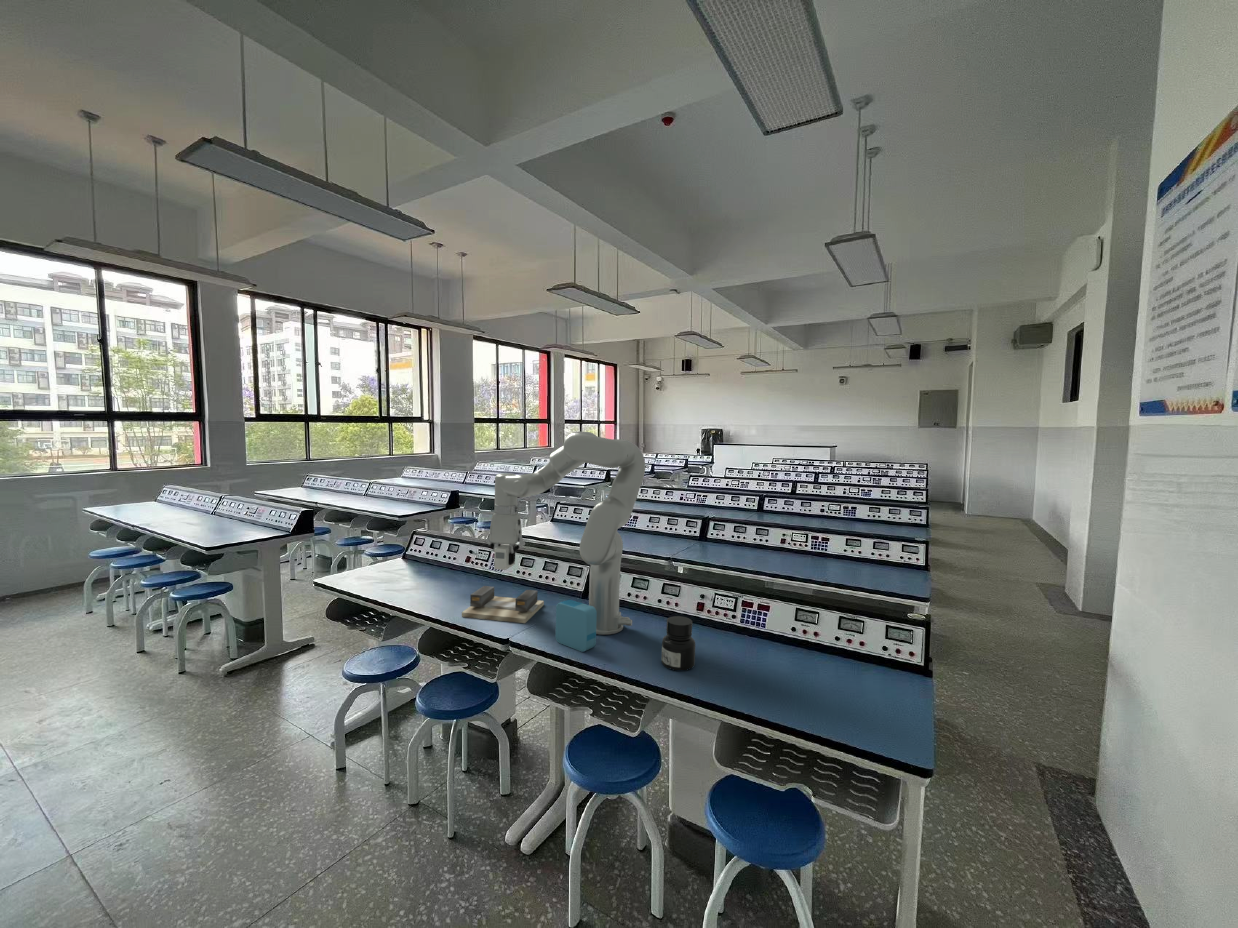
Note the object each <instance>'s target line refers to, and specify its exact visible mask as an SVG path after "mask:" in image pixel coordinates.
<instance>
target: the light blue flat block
mask: <svg viewBox="0 0 1238 928" xmlns="http://www.w3.org/2000/svg"><path fill="white" fill-rule="evenodd" d="M596 620H597V611H596V609H595V608H594V607H593V606H590V605H589V604H586V603H582V602H579V601H576V600H573V599H570V598H569V599H566V600H563V601H560V602H558V603H557V604H556V606H555V640H556V642H557V643H558V644H560V645H563V646H566V647H568V648H570V649H574V650H576V651H579V652H582V653H584V652H586V651H589V650H590V649H592V648H595V646H596V644H597V634H596Z"/></svg>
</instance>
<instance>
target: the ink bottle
mask: <svg viewBox="0 0 1238 928" xmlns="http://www.w3.org/2000/svg"><path fill="white" fill-rule="evenodd" d="M665 630H666V635H664V636H663V638H662V640H661V664H662V665H663V666H664V668H667V669H668V668H671V669H674V670H673V671H675V670H685V671H688V670H687V669H689V668H692V667H693V666H694V667H695V665H696V640H695V639H694V638H693V637H692V634H693V621H692V619H690V618H689V617H686V616H681V615H674V616H670V617H667V619H666V629H665ZM694 667H693V668H694ZM693 668H692V669H693ZM671 669H670V670H671ZM689 670H690V669H689Z"/></svg>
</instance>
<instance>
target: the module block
mask: <svg viewBox="0 0 1238 928" xmlns="http://www.w3.org/2000/svg"><path fill="white" fill-rule="evenodd" d="M509 553H510V547H509V544H501V545H500V546H498V547H497V548H495V552H494V558H493V559H494V563H493V565H494V566H493V567H494V568H493V569H494V570H501V571H507V570H508V569H509V568H511V567H513V566H514V565H516V561H515V562H514V563H513V564H512V565H509Z"/></svg>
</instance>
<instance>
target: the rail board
mask: <svg viewBox="0 0 1238 928" xmlns="http://www.w3.org/2000/svg"><path fill="white" fill-rule="evenodd" d="M469 598H470V601H469V603H470V604H469V605H470V606H468V607H467V608H466V609H464V610H463V611H462V612H461V618H471V619H480V620H489V621H490V620H491V621H499V622H507V623H508V622H510V623H517V624H518V623H519V624H526V623H527V622H528V621H529V620H530V619H531V618H532V617H533V616H535V614H537V612H538V611H539V610H541V609H542V607H543V606H545V605H544V604H545V601H544V600H540V599H538V590H533V589H526V590H524V591H523V592H522V593H521V594H519V595H518V596H517V597H507V596H506V597H505V596H497V595H495V586H490V585H488V586H487V585H483V586H482V587H480V588H478V589H477V590H475V591H474V592H472V593H471V594H470V597H469Z"/></svg>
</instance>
